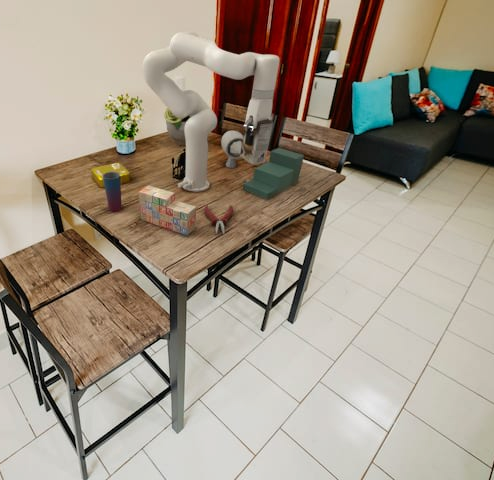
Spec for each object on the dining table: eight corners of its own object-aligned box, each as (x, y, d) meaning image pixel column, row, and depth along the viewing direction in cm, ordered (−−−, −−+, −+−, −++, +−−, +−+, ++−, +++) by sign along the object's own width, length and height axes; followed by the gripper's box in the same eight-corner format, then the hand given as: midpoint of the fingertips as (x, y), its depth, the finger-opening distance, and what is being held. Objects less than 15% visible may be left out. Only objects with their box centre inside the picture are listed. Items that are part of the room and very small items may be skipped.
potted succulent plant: (185, 133, 215) (186, 92, 200) (214, 143, 199) (217, 100, 185) (155, 142, 202) (153, 99, 188) (182, 154, 186) (183, 108, 172)
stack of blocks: (195, 228, 125) (197, 199, 118) (187, 236, 121) (187, 206, 114) (149, 212, 135) (148, 184, 128) (140, 219, 131) (138, 191, 124)
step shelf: (266, 199, 143) (271, 171, 135) (242, 189, 151) (245, 162, 143) (298, 182, 156) (304, 155, 149) (273, 173, 164) (278, 147, 157)
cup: (115, 203, 142) (111, 169, 133) (127, 208, 138) (123, 174, 130) (103, 209, 138) (98, 175, 129) (115, 214, 134) (110, 180, 125)
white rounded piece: (210, 172, 166) (212, 137, 156) (222, 158, 180) (225, 125, 170) (240, 177, 161) (244, 142, 150) (250, 162, 175) (255, 129, 165)
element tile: (91, 176, 164) (90, 167, 161) (120, 170, 169) (119, 161, 167) (101, 188, 153) (99, 178, 150) (131, 181, 159) (130, 172, 156)
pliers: (204, 236, 121) (204, 230, 119) (204, 208, 137) (204, 203, 136) (236, 238, 120) (237, 232, 119) (232, 209, 136) (232, 204, 135)
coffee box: (238, 156, 137) (245, 115, 127) (252, 154, 139) (259, 114, 129) (252, 164, 130) (259, 122, 120) (265, 162, 132) (274, 120, 123)
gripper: (268, 88, 127) (260, 134, 137) (239, 96, 118) (233, 145, 128) (285, 92, 123) (276, 139, 133) (256, 100, 113) (249, 150, 123)
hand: (255, 142), depth 130 cm, fingers closed on coffee box, 7 cm apart
